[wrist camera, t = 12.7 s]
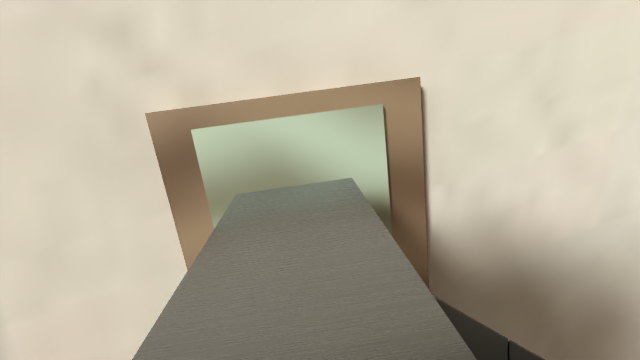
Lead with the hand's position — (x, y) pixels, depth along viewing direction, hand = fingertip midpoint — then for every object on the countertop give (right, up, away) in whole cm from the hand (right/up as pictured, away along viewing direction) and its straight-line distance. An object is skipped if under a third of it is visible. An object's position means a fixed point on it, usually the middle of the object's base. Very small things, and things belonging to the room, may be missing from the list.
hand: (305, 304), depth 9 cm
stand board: (0, -3, +10) cm, 10 cm away
